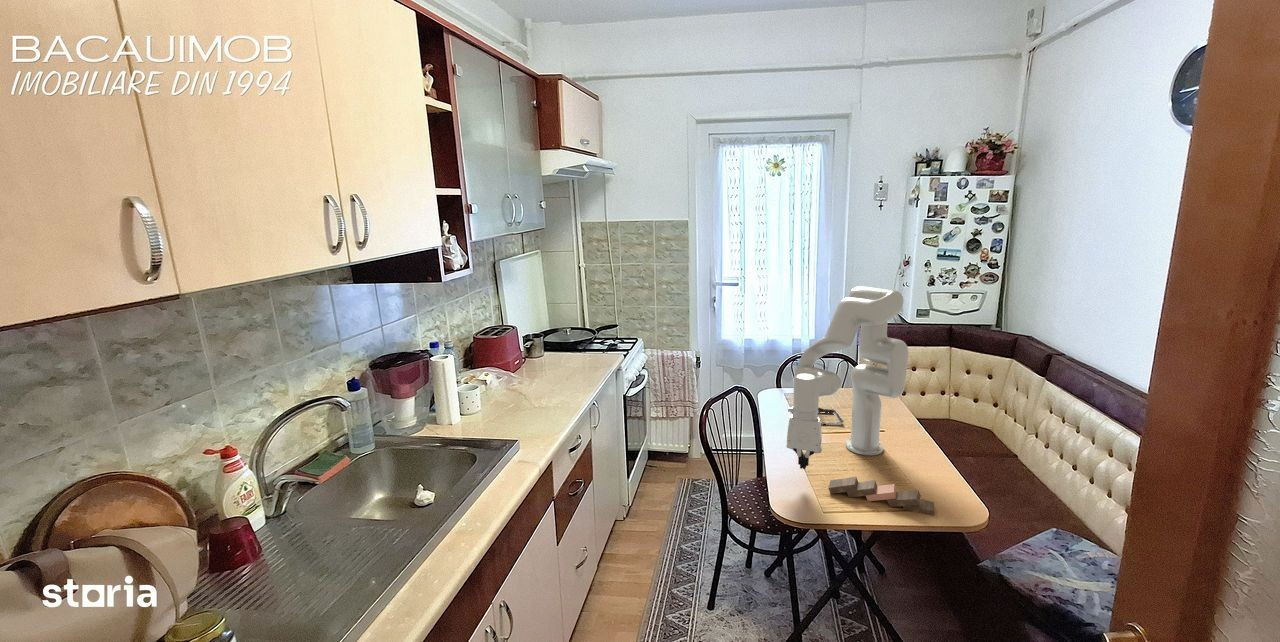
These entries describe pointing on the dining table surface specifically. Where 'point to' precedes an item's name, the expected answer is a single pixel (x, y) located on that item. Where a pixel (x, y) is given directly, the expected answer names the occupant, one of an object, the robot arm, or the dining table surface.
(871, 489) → the domino
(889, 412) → the dining table surface
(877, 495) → the domino
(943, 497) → the dining table surface
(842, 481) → the domino
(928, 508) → the domino
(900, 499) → the domino
